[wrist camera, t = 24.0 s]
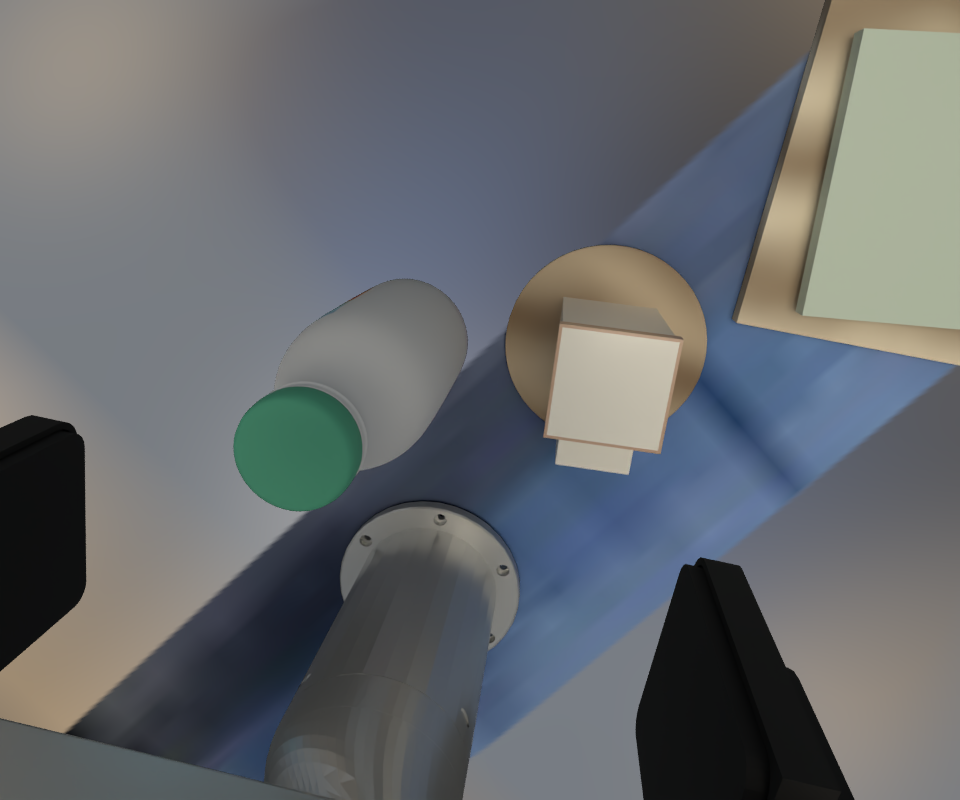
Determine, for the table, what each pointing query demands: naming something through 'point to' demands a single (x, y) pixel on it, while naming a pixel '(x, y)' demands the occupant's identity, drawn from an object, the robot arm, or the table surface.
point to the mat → (605, 280)
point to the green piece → (891, 187)
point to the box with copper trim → (610, 384)
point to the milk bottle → (352, 394)
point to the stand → (799, 177)
